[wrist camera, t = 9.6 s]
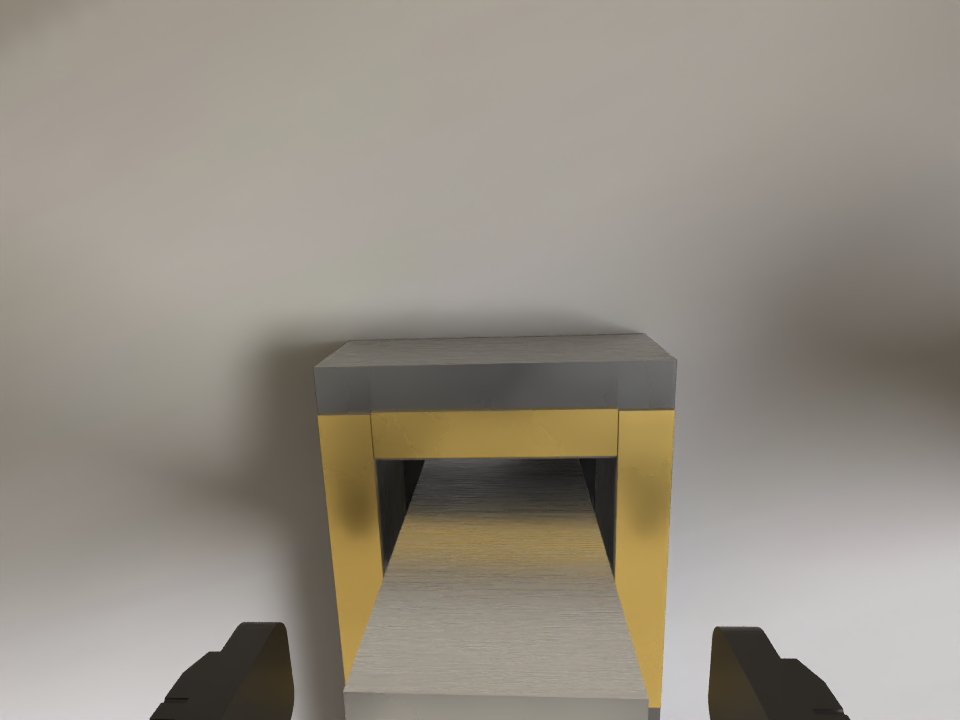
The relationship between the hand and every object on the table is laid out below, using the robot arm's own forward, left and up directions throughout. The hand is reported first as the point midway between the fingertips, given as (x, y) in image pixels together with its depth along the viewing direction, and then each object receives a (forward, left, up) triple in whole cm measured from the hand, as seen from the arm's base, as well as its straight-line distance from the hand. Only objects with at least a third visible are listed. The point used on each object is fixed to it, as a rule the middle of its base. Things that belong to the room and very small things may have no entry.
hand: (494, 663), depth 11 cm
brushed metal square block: (0, 0, -6) cm, 6 cm away
